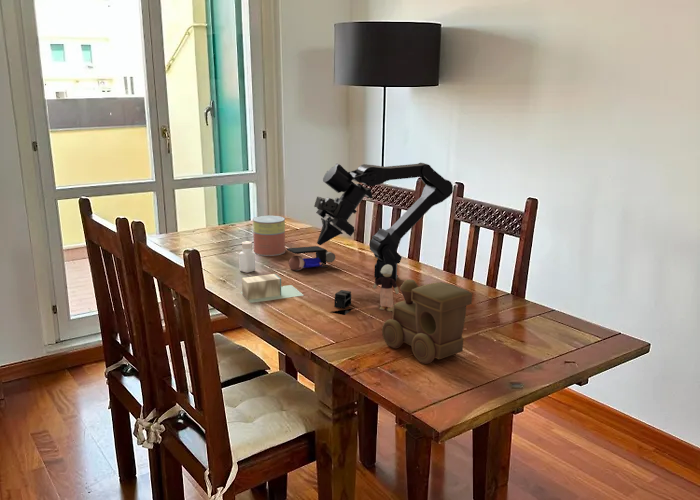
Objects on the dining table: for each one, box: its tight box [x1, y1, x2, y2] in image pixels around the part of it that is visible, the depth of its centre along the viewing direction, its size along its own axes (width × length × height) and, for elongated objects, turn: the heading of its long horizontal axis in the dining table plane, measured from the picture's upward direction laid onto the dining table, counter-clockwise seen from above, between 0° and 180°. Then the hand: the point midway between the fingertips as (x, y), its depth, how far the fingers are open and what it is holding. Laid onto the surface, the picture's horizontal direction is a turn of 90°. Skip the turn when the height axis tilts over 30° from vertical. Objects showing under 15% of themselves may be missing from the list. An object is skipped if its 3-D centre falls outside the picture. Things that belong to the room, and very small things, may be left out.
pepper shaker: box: [238, 240, 257, 274], centre depth 210 cm, size 4×4×10 cm
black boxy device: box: [330, 289, 355, 316], centre depth 180 cm, size 13×8×5 cm, turn 155°
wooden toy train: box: [381, 279, 473, 365], centre depth 152 cm, size 20×11×17 cm, turn 38°
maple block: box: [241, 273, 282, 301], centre depth 187 cm, size 5×5×10 cm
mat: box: [239, 284, 304, 304], centre depth 189 cm, size 16×10×1 cm, turn 116°
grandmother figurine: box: [372, 264, 400, 312], centre depth 179 cm, size 8×4×13 cm, turn 71°
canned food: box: [252, 214, 286, 257], centre depth 232 cm, size 11×11×12 cm
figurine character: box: [286, 245, 336, 271], centre depth 215 cm, size 7×8×15 cm
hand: (318, 244), depth 194 cm, fingers closed
